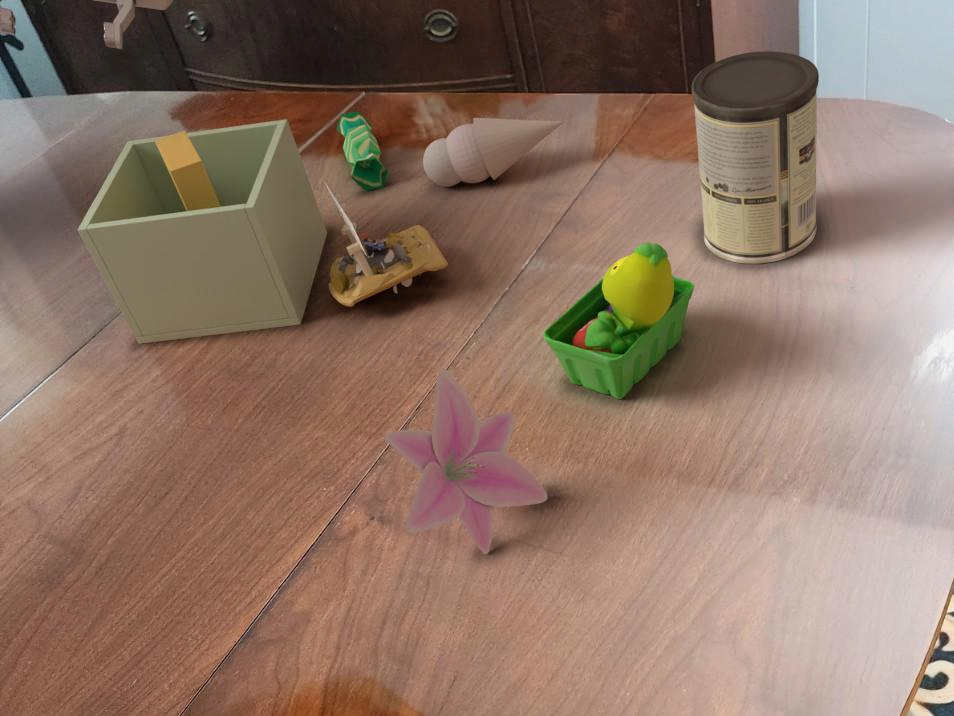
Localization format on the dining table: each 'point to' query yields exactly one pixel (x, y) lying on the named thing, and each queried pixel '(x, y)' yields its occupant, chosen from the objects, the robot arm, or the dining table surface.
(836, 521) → the dining table surface
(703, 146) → the coffee can
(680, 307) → the fruit basket
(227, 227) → the waste bin
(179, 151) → the orange rectangular block
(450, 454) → the lily
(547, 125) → the ice cream cone
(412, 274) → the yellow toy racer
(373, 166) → the candy
